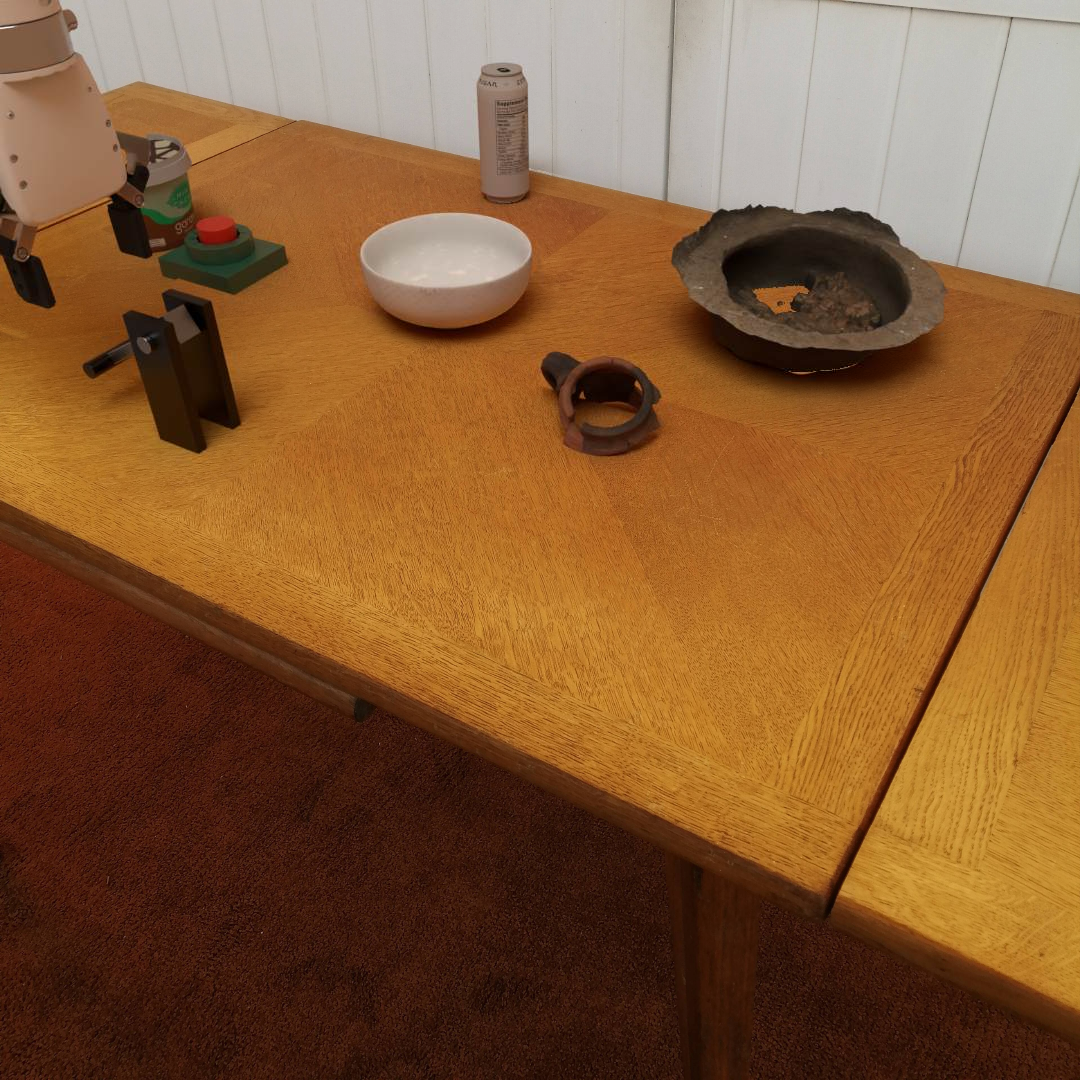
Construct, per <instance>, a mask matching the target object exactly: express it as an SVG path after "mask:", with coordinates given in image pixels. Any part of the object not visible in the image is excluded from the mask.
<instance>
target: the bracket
mask: <svg viewBox="0 0 1080 1080" xmlns="http://www.w3.org/2000/svg"><path fill="white" fill-rule="evenodd" d="M161 297H162V301H163V305H164V308H165V313H167V312H169V311H171V310H173V309H175V308H177V307H179V306H181V305H184V306H185V308H186V309H187V311H188V312H189V314H190V315H191V317H192V319H193V320H194V322H195V323H196V325H197V326H198V328H199V330H200V331H201V333H199V334H197V335H196V336H194V337H192V338H190V339H189V340H187V341H185V342H184V343H182V344H180V345H179V343H178V339H177V335H176V332H175V328H174V324H173V323H172V322H169V321H166V320H162V319H159V318H158V317H156V316H153V315H150V314H146V313H144V312H141V311H137V310H134V309H130V310H127V311H126V312H124V313H122V315H121V317H122V319H123V322H124V323H123V324H124V325H125V329H126V333H127V336H128V338H129V339H130V342H131V346H132V349H133V352H134V356H133V357H134V359H135V363H136V366H137V368H138V369H137V370H138V372H139V375H140V378H141V381H142V385H143V388H144V391H145V394H146V399H147V401H148V404H149V408H150V410H151V413H152V417H153V421H154V423H155V427H156V431H157V433H158V437H159V439H160V440H161V441H163V442H165V443H169V444H171V445H174V446H176V447H178V448H179V447H180V448H182V449H184V450H187V451H189V452H192V453H194V454H198V455H200V454H201V453H203V452H204V451H205V450H207V449H208V446H207V442H206V439H205V435H204V432H203V431H204V430H203V428H202V424H201V420H200V419H202V420H205V421H208V422H210V423H213V424H216V425H219V426H222V427H224V428H226V429H230V430H232V431H234V430H235V429H237V428H239V426H241V425H242V422H241V418H240V413H239V409H238V405H237V401H236V398H235V393H234V389H233V385H232V381H231V380H232V379H231V377H230V372H229V368H228V364H227V360H226V355H225V352H224V348H223V343H222V340H221V334H220V331H219V327H218V323H217V322H218V321H217V318H216V315H215V311H214V306H213V305H214V304H213V302H212V300H210V299H206V298H202V297H200V296H197V295H193V294H190V293H187V292H183V291H180V290H177V289H174V288H168V289H166V290H165V291H163V292H162V293H161Z"/></svg>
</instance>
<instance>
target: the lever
mask: <svg viewBox="0 0 1080 1080" xmlns="http://www.w3.org/2000/svg"><path fill="white" fill-rule="evenodd" d="M157 318H159V319H162V320H166V321H169V322H172V323H173V324H174V328H175V332H176V335H177V339H178V343H179V345H180V344H182V343H184V342H185V341H187V340H189V339H190V338H192V337H194V336H196V335H197V334H199V333H201V331H200V330H199V328H198V326H197V325H196V323H195V322H194V320H193V319H192V317H191V315H190V314H189V312H188V311H187V309H186V308H185V306H184V305H181V306H179V307H177V308H175V309H173V310H171V311H169V312H165V313H163V314H162V315H160V316H158V317H157ZM133 357H135V356H134V352H133V349H132V346H131V342H130V339H129V337H128V338H126V339H124V340H122V341H121V342H119V343H117V344H116V345H114V346H112V347H110V348H108V349H107V350H105V351H103V352H101V353H99V354H98V355H96V356H94V357H93V358H91V359H89V360H87V361H85V362H83V364H82V370H83V372H84V374H85V375H86V376H87V377H88V378H89V379H92V380H95V379H97V378H99V377H100V376H102V375H104V374H106V373H107V372H109V371H111V370H112V369H114V368H116V367H117V366H119V365H122V363H125V362H126V361H128V360H130V359H131V358H133Z"/></svg>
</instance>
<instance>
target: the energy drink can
mask: <svg viewBox="0 0 1080 1080" xmlns="http://www.w3.org/2000/svg"><path fill="white" fill-rule="evenodd" d="M480 72H481V73H480V75H479V77H478V79H477V82H476V102H477V103H476V104H477V105H476V106H477V124H478V126H477V127H478V144H479V145H478V146H479V169H480V186H481V187H480V189H481V192H483V193H484V195H485V198H486V197H487V198H486V199H487V200H488V201H490V202H492V203H496V202H497V204H511V202H513V203H517V202H519V201H518V200H520V201H522V200H523V199H524V198H525V197H526V193H527V192H528V191H529V190H530V146H529V142H530V140H529V139H530V138H529V83H528V80H527V79H526V77H525V75H524V73H523V66H522V65H520V64H517V63H512V62H492V63H487V64H485V65H483V66H481V68H480ZM524 196H525V197H524ZM523 197H524V198H523ZM522 198H523V199H522ZM521 199H522V200H521ZM516 201H517V202H516Z"/></svg>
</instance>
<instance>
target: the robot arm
mask: <svg viewBox="0 0 1080 1080" xmlns="http://www.w3.org/2000/svg"><path fill="white" fill-rule="evenodd" d="M78 26H79V22H78V19H77V17H76V15H75V13H74V12H73V11H72V10H70V9H69V8H67V9H63V8H62V5H61V2H60V0H0V257H2V258H3V262H4V264H5V266H6V269H7V272H8V274H9V277H10V279H11V282H12V285H13V287H14V289H15V292H16V294H17V295H18V296H19V298H21V299H22V300H23V301H24V302H25V303H28V304H31V305H34V306H37V307H40V308H43V309H46V310H50V309H51V308H53V307H55V306H56V304H57V300H56V297H55V294H54V292H53V288H52V286H51V283H50V281H49V278H48V275H47V272H46V270H45V267H44V265H43V261H42V259H41V258H40V257H39V256H36V255H33V254H32V251H33V248H34V247H33V246H34V243H35V240H36V235H37V232H38V228H39V227H40V226H44V225H46V224H49V223H51V222H54V221H56V220H59V219H61V218H63V217H66V216H68V215H71V214H73V213H75V212H77V211H79V210H82V209H84V208H86V207H88V206H90V205H93V204H95V203H97V202H100V201H102V200H104V199H106V198H108V199H109V200H110V201H111V203H108V204H106V207H107V214H108V218H109V220H110V223H111V227H112V230H113V233H114V236H115V240H116V243H117V246H118V249H119V251H120V252H121V253H123V254H125V255H129V256H133V257H136V258H140V259H144V260H147V259H149V258H151V257H153V254H154V253H152V250H151V247H150V243H149V237H148V233H147V229H146V226H145V222H144V219H143V215H142V212H141V208H142V207H143V206H144V205H145V200H146V199H145V196H144V194H143V193H144V190H145V187H146V185H147V182H148V179H149V176H150V173H149V170H148V168H147V165H149V156H150V146H151V145H150V141H149V140H148V139H147V137H143V136H139V135H135V134H131V133H127V132H122V131H119V130H116V129H115V127H114V123H113V121H112V118H111V115H110V113H109V110H108V107H107V105H106V102H105V100H104V97H103V95H102V93H101V91H100V89H99V86H98V83H97V82H96V80H95V78H94V76H93V74H92V71H91V69H90V67H89V66H88V64H87V62H86V61H85V58H84V56H83V55H82V54H81V53H79V52H77V51H75V48H74V45H73V41H72V38H71V35H70V33H71V32H72V31H74V30H77V29H78ZM123 151H124V152H125V156H126V157H125V159H124V154H123ZM125 160H126V162H125Z"/></svg>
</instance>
